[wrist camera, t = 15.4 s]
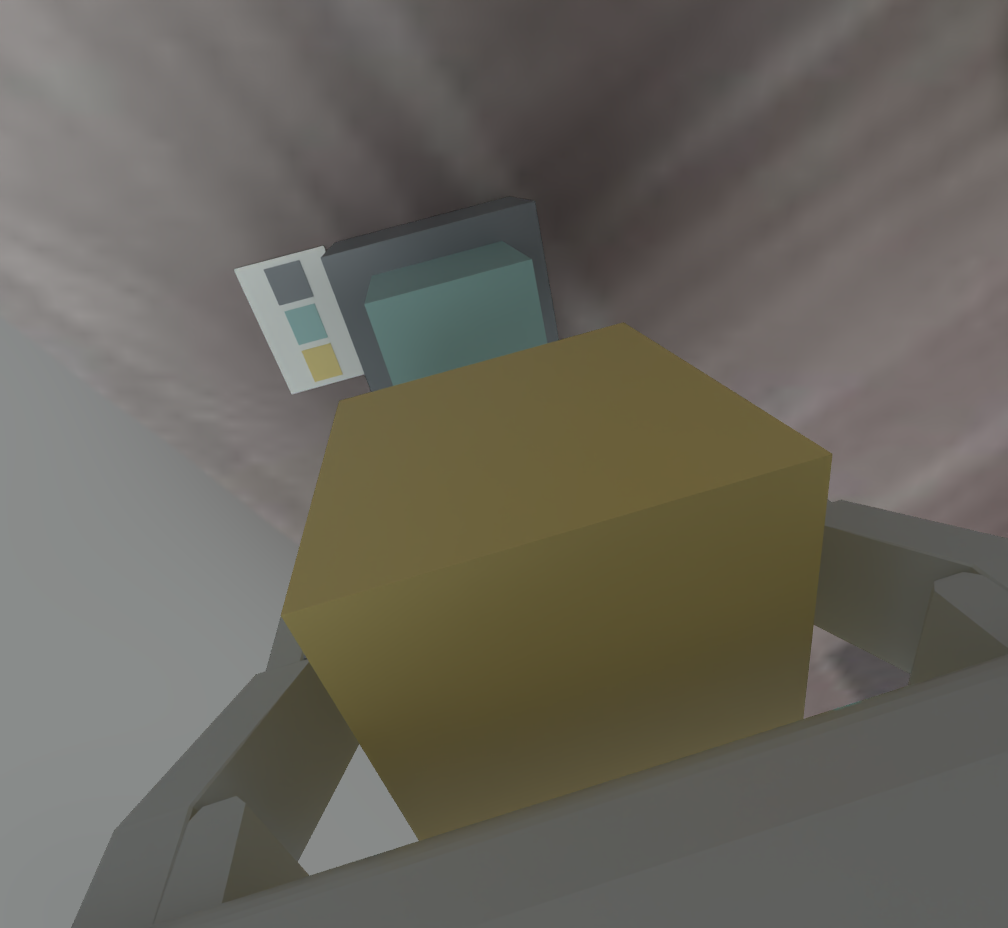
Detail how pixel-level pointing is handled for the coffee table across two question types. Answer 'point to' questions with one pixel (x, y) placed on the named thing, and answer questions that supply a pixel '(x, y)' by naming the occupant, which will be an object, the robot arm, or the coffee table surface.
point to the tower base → (423, 242)
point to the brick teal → (455, 311)
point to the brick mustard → (557, 573)
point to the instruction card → (301, 319)
